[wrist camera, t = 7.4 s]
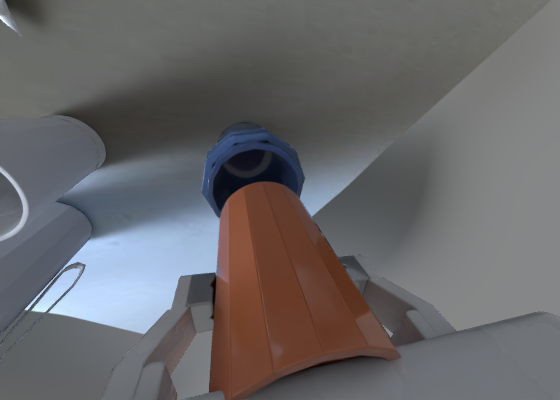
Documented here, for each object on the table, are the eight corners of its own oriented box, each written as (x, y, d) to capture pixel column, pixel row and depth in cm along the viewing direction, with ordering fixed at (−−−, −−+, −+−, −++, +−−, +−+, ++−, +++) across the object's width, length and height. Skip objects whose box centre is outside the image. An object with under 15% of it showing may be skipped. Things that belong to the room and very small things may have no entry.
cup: (102, 109, 22) (-12, 128, 11) (122, 179, 25) (49, 241, 15) (5, 102, 20) (-239, 116, 9) (42, 178, 23) (-105, 249, 13)
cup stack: (233, 109, 24) (237, 123, 14) (285, 142, 28) (319, 174, 17) (205, 163, 27) (191, 210, 16) (256, 188, 30) (271, 240, 20)
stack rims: (231, 106, 17) (231, 109, 15) (313, 160, 21) (322, 168, 19) (187, 191, 19) (182, 203, 17) (268, 224, 23) (272, 238, 21)
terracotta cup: (247, 164, 12) (290, 335, 4) (318, 203, 15) (438, 356, 6) (204, 236, 14) (169, 462, 6) (275, 259, 17) (323, 438, 8)
